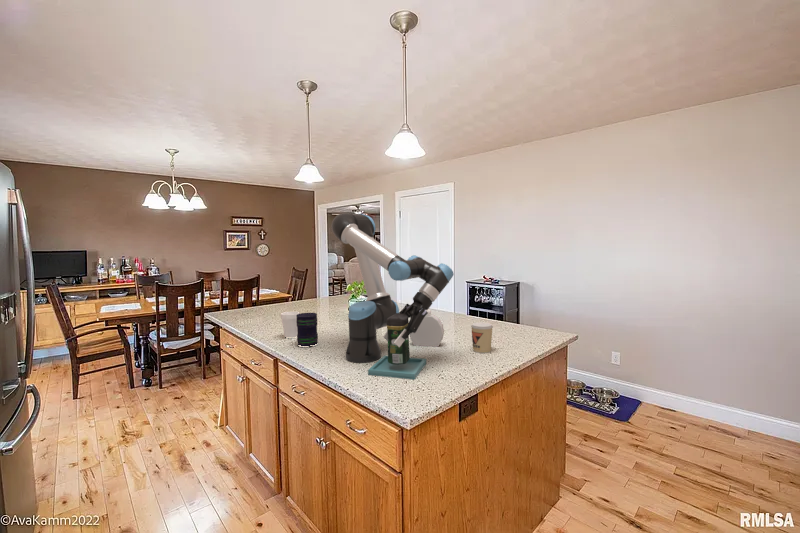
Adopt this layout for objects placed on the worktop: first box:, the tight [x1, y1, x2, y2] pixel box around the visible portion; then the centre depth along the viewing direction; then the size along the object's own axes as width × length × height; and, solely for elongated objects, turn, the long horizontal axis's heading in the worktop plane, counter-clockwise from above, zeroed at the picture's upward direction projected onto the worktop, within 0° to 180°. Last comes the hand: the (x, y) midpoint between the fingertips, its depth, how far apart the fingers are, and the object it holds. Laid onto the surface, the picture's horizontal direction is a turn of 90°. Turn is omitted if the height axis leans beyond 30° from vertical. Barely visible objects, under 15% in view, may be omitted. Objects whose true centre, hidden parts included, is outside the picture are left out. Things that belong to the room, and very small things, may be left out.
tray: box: [367, 355, 427, 380], centre depth 145 cm, size 18×18×2 cm
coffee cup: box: [470, 321, 494, 354], centre depth 166 cm, size 9×9×12 cm
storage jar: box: [296, 312, 319, 346], centre depth 180 cm, size 10×10×15 cm
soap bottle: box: [409, 308, 445, 348], centre depth 176 cm, size 16×5×20 cm, turn 75°
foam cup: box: [280, 310, 301, 338], centre depth 194 cm, size 10×9×13 cm
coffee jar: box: [386, 313, 411, 365], centre depth 144 cm, size 10×8×19 cm
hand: (390, 341), depth 142 cm, fingers closed on coffee jar, 9 cm apart
